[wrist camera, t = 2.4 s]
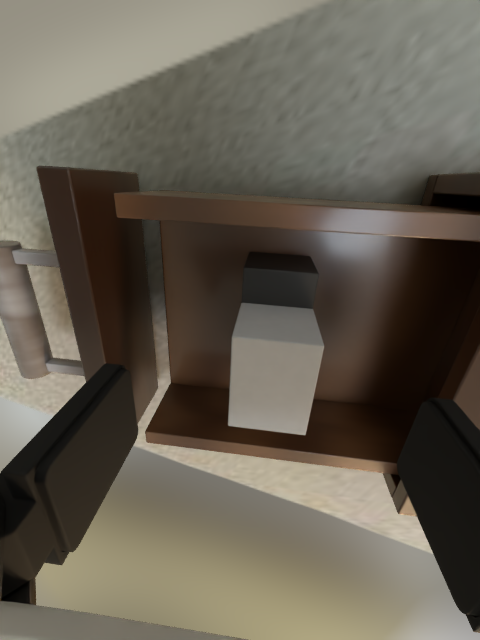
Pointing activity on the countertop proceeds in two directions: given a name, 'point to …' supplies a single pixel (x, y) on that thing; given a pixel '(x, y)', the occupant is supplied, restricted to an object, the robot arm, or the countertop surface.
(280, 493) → the countertop surface
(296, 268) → the two-tone rectangular prism
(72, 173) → the drawer
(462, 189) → the cabinet
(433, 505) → the robot arm
